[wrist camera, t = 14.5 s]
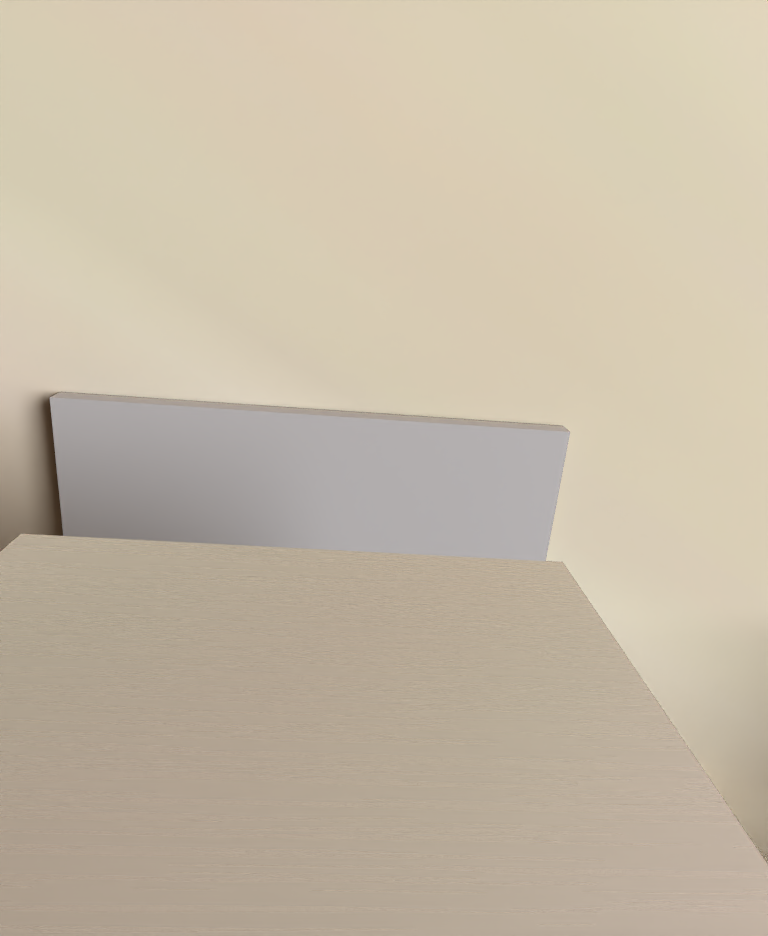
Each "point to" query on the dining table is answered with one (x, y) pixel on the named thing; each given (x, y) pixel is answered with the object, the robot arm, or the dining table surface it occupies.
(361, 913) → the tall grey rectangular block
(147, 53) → the dining table surface
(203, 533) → the pad
